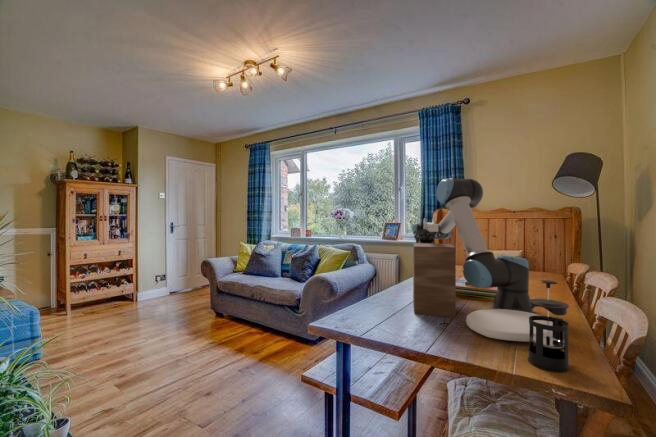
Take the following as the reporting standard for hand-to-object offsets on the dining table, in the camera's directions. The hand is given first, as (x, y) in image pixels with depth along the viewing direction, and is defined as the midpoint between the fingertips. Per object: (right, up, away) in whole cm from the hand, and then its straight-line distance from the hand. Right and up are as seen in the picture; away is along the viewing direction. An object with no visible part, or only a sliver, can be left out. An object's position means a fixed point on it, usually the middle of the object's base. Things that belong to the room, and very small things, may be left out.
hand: (429, 220), depth 150 cm
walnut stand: (-3, -39, -15) cm, 41 cm away
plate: (+15, -39, -40) cm, 58 cm away
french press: (+12, -39, -64) cm, 76 cm away
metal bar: (-2, -4, -6) cm, 8 cm away
